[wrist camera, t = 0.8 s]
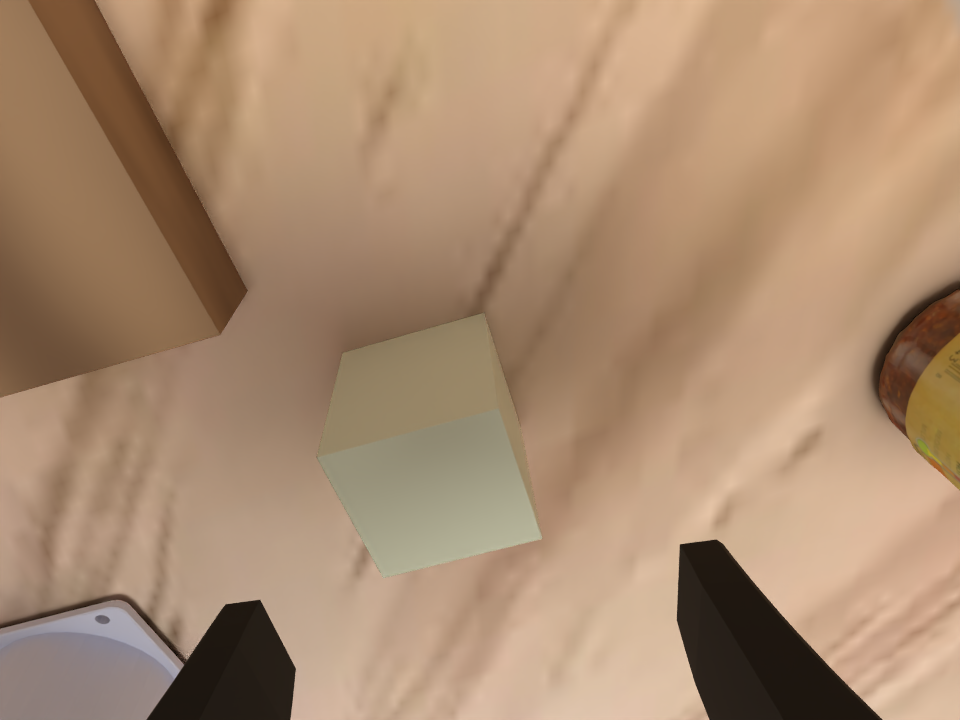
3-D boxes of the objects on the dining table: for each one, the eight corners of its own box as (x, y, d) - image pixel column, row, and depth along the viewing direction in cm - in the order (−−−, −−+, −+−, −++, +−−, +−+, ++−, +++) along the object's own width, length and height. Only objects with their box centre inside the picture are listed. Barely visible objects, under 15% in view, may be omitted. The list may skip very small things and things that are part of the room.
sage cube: (393, 459, 22) (383, 578, 17) (342, 351, 19) (316, 457, 15) (520, 426, 21) (541, 538, 17) (484, 311, 19) (498, 408, 15)
